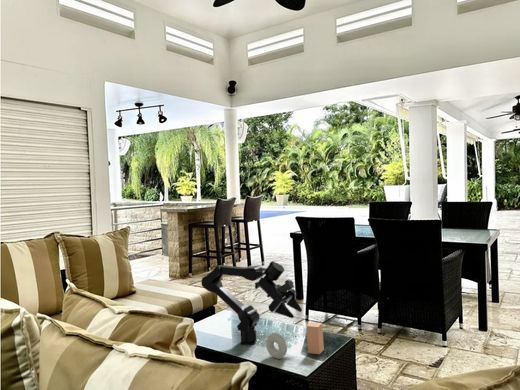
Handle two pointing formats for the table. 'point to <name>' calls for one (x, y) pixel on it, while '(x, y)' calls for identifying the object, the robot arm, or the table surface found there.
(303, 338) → the table surface
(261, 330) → the table surface
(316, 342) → the post
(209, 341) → the table surface
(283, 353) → the donut
